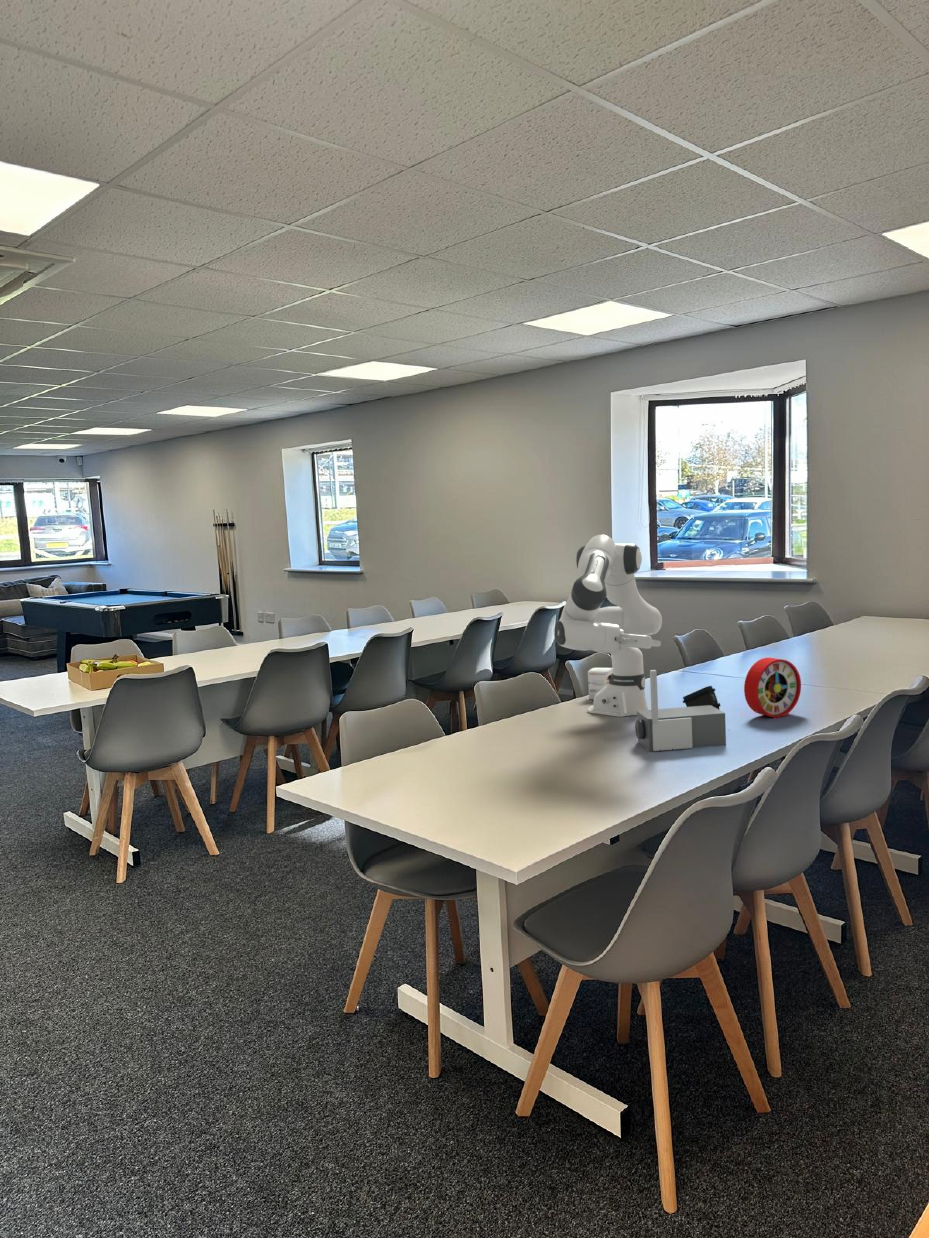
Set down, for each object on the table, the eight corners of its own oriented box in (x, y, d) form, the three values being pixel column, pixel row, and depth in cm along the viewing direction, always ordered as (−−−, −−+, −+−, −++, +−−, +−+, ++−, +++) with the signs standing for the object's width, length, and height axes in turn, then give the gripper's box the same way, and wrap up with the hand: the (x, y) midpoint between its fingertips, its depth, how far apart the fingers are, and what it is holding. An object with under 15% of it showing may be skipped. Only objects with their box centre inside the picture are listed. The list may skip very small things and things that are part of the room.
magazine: (724, 730, 270) (706, 686, 274) (694, 742, 280) (677, 699, 284) (731, 728, 273) (713, 684, 276) (701, 739, 283) (684, 697, 286)
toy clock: (757, 721, 286) (755, 663, 284) (744, 718, 292) (743, 661, 289) (801, 713, 294) (800, 656, 292) (788, 710, 300) (787, 654, 297)
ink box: (615, 695, 342) (613, 667, 341) (609, 700, 334) (608, 671, 333) (594, 695, 346) (593, 667, 344) (588, 699, 338) (587, 670, 337)
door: (654, 751, 256) (651, 671, 253) (652, 750, 257) (649, 670, 255) (693, 748, 257) (690, 668, 254) (691, 746, 258) (688, 667, 256)
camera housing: (644, 752, 257) (643, 719, 256) (633, 742, 269) (631, 711, 268) (726, 745, 259) (725, 713, 258) (711, 735, 271) (710, 705, 270)
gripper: (624, 628, 240) (669, 633, 242) (598, 627, 260) (640, 632, 262) (621, 650, 240) (667, 655, 242) (596, 647, 260) (638, 652, 262)
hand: (653, 643), depth 253 cm, fingers open, 8 cm apart
